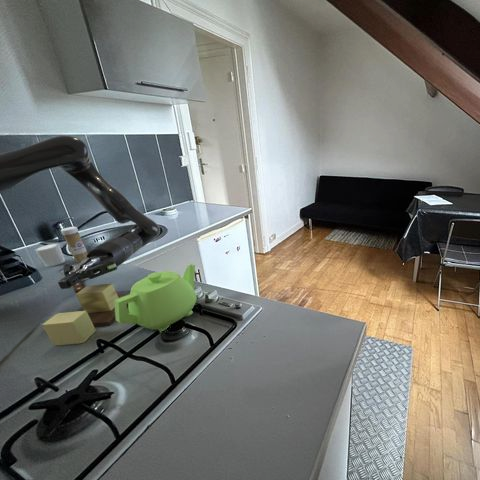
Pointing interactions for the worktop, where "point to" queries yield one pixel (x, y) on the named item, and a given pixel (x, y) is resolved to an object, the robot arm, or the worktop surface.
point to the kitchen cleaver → (76, 285)
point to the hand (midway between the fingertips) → (62, 285)
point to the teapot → (158, 300)
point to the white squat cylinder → (50, 254)
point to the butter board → (99, 303)
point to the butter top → (69, 328)
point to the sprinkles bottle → (74, 243)
